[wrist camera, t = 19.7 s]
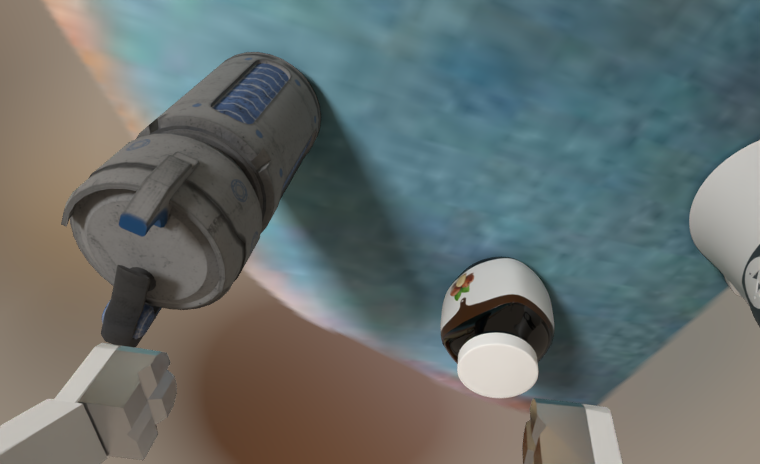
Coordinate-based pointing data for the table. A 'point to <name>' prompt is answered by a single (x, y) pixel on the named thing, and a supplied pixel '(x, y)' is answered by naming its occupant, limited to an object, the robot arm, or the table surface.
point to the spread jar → (497, 326)
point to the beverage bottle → (194, 191)
